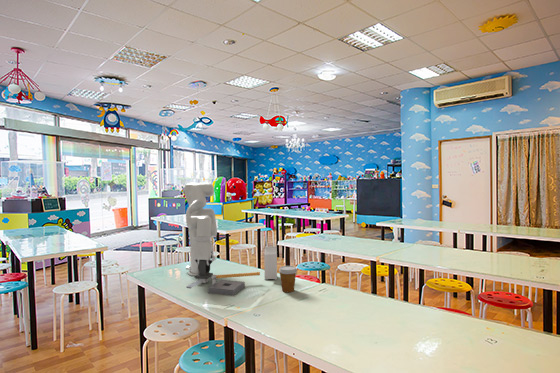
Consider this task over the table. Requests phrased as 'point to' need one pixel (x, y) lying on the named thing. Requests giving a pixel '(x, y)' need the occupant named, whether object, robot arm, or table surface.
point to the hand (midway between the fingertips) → (204, 271)
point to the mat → (194, 284)
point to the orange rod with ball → (235, 275)
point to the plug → (203, 272)
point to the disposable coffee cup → (287, 278)
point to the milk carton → (270, 262)
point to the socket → (226, 287)
